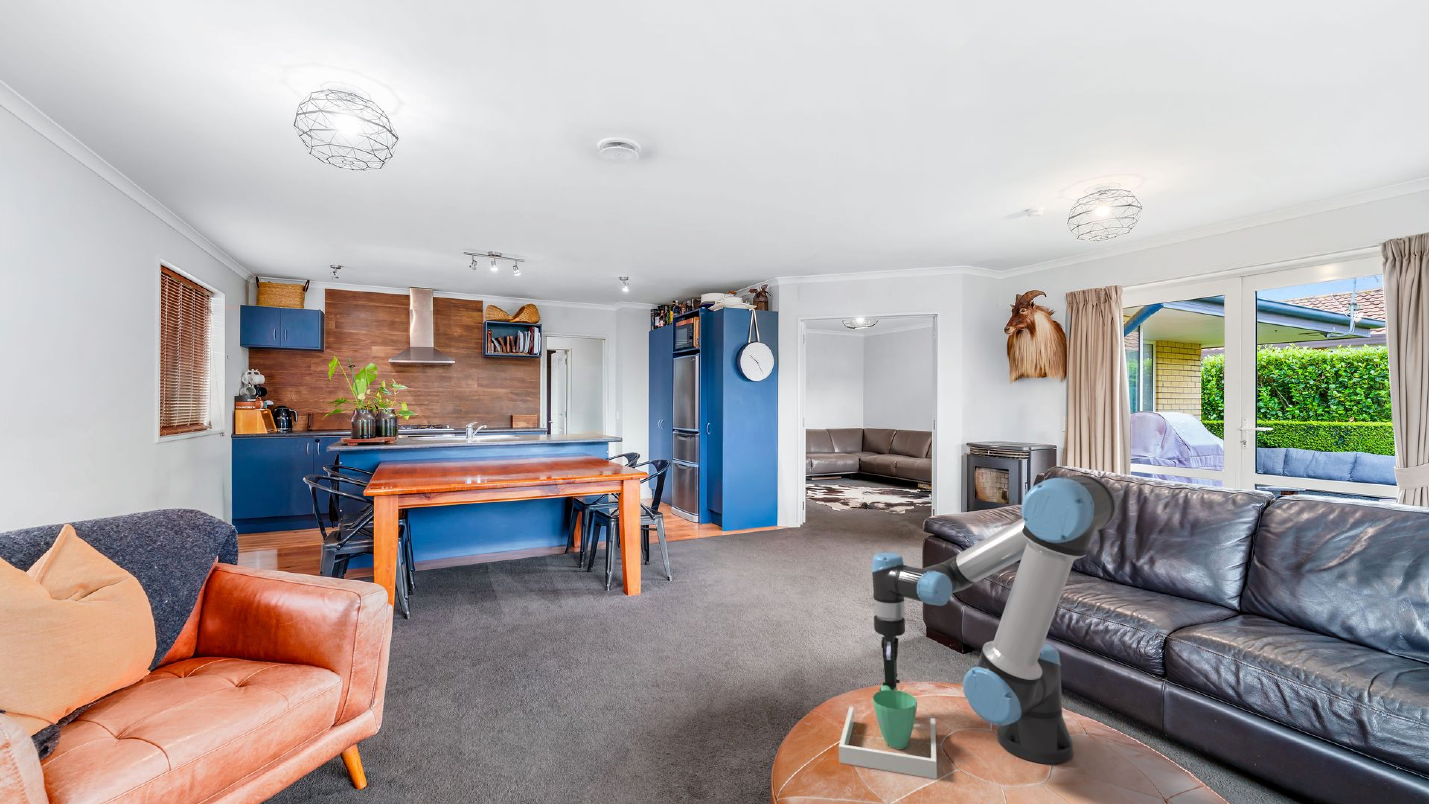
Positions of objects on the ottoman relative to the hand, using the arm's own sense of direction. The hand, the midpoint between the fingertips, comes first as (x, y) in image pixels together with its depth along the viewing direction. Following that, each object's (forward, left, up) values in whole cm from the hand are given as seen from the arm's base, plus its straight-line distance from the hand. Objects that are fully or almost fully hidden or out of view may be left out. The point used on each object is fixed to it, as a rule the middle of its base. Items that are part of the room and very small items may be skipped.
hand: (892, 710), depth 148 cm
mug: (-1, +10, -2) cm, 10 cm away
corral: (0, +14, -2) cm, 14 cm away
